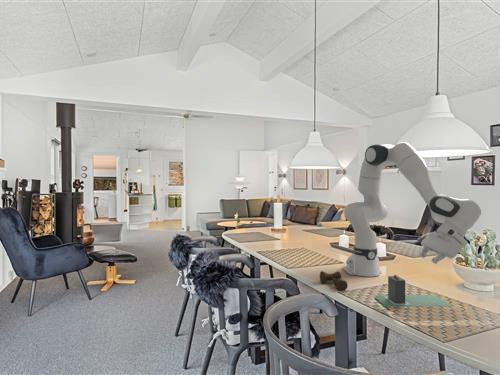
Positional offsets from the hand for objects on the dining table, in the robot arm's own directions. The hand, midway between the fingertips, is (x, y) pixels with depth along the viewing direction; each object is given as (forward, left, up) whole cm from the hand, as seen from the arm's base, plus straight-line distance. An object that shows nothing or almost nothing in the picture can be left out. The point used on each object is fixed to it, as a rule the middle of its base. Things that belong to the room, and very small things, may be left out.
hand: (427, 259), depth 141 cm
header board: (+1, -8, -18) cm, 19 cm away
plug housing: (0, -14, -16) cm, 21 cm away
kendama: (-30, -27, -18) cm, 44 cm away
